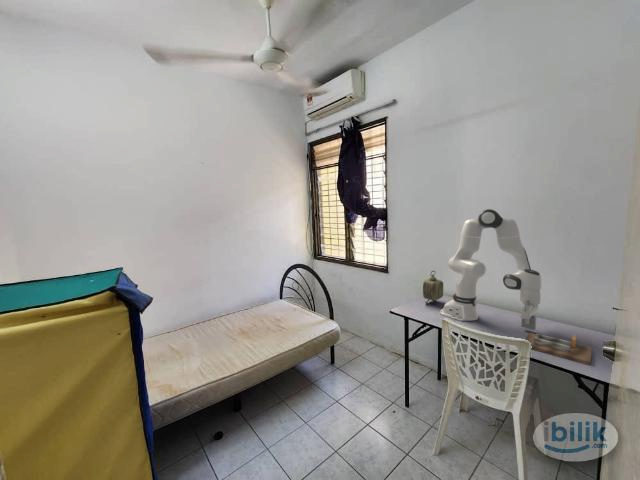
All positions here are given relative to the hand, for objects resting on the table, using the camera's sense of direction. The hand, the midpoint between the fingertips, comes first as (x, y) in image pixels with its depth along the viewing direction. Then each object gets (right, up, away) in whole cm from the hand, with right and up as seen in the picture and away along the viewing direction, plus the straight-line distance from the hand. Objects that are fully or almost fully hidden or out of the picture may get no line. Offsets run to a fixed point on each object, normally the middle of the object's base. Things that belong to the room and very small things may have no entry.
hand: (528, 322), depth 149 cm
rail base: (-1, -7, -18) cm, 20 cm away
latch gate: (+8, -5, -19) cm, 21 cm away
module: (0, -3, 0) cm, 3 cm away
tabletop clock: (-32, -1, +51) cm, 60 cm away
